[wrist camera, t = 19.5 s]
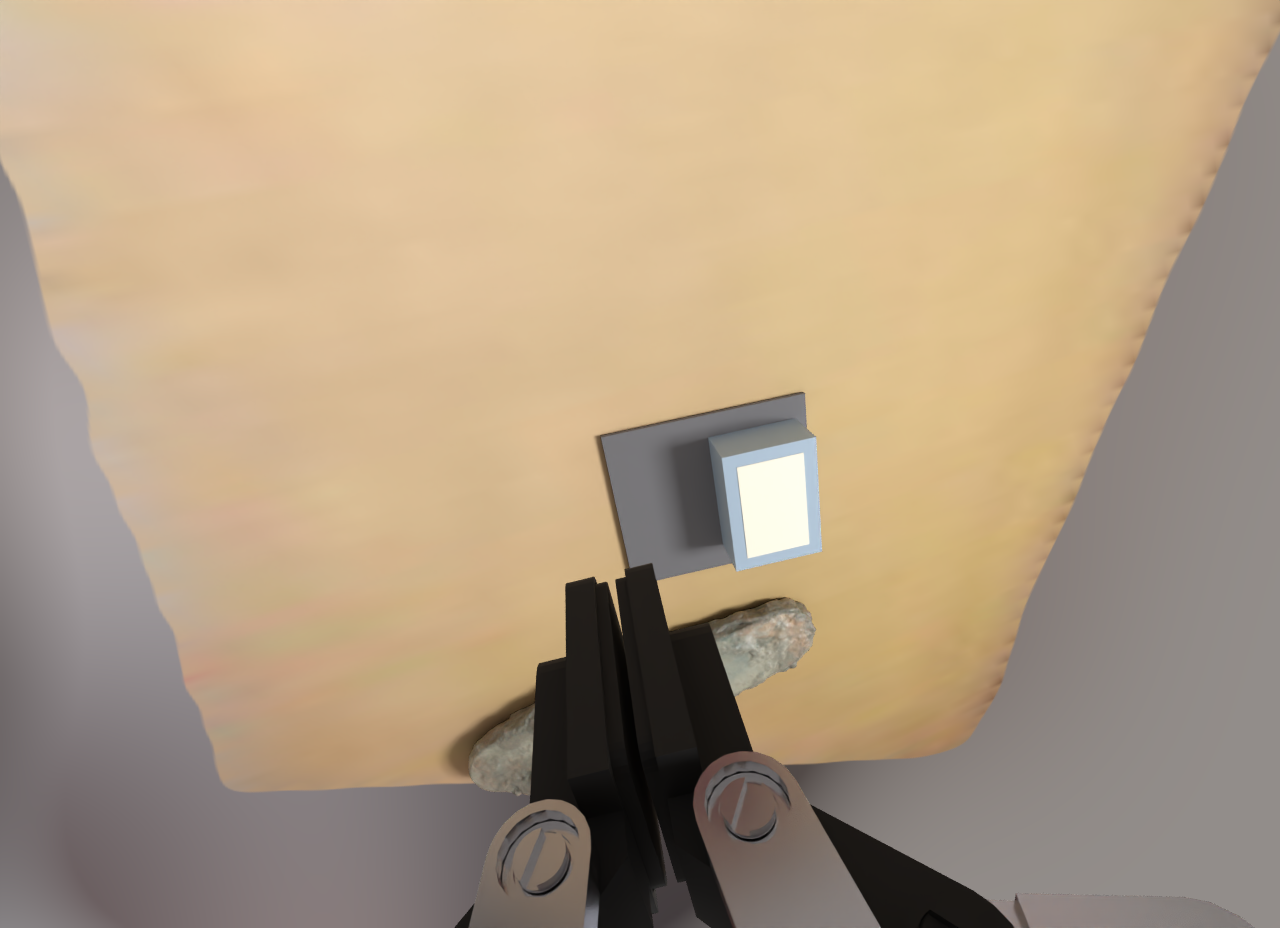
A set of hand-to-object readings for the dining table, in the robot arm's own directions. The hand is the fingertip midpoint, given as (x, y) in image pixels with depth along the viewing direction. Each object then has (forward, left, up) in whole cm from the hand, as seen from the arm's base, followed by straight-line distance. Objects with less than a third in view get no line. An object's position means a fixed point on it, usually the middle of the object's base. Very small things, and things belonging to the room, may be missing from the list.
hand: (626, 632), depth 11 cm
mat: (+16, +8, -32) cm, 37 cm away
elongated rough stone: (+35, -1, -33) cm, 48 cm away
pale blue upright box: (+16, +8, -30) cm, 35 cm away
